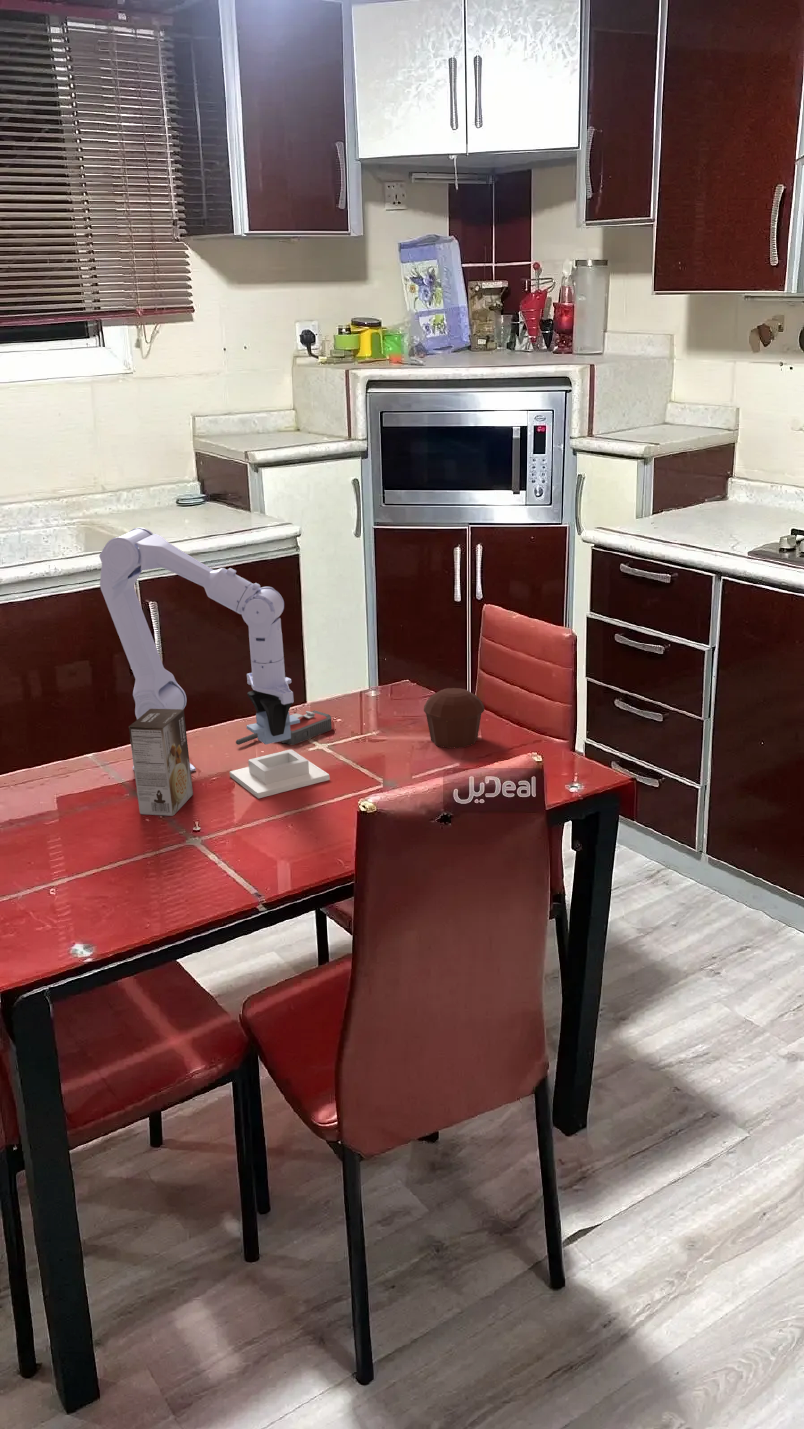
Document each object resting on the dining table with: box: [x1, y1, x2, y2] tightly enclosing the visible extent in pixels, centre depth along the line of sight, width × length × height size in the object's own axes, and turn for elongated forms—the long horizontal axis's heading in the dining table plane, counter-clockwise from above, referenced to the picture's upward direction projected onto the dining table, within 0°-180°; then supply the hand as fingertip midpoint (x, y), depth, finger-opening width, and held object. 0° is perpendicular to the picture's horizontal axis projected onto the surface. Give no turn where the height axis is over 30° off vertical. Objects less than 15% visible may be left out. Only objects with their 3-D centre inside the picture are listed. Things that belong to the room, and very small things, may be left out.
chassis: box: [229, 749, 331, 799], centre depth 208 cm, size 14×12×4 cm
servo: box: [245, 711, 300, 745], centre depth 207 cm, size 9×3×6 cm, turn 122°
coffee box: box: [128, 708, 194, 817], centre depth 197 cm, size 9×6×16 cm
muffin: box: [423, 687, 485, 749], centre depth 222 cm, size 12×11×10 cm
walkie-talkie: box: [235, 709, 333, 746], centre depth 228 cm, size 9×4×20 cm
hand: (273, 731), depth 207 cm, fingers closed on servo, 3 cm apart
